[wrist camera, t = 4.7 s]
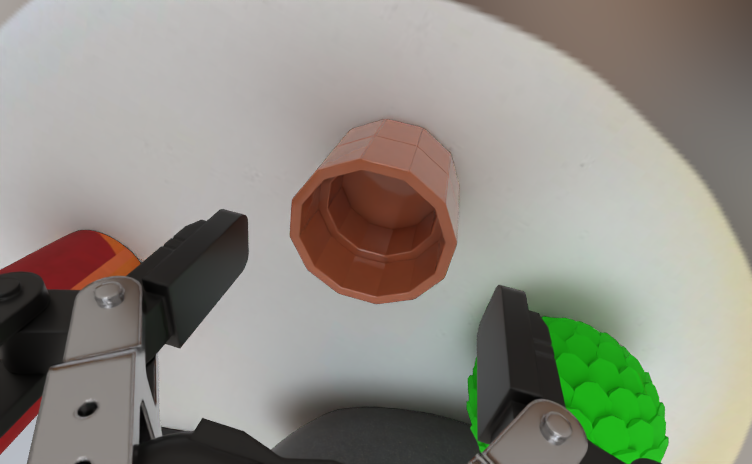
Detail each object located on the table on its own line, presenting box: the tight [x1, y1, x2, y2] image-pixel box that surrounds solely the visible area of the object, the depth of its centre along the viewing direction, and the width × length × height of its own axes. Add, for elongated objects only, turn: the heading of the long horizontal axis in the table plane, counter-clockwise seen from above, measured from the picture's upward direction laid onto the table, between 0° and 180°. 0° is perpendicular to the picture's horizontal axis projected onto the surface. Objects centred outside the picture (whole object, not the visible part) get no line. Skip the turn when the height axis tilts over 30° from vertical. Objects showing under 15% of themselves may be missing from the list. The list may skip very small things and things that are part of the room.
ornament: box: [466, 316, 669, 464], centre depth 17 cm, size 8×8×10 cm
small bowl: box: [290, 119, 460, 304], centre depth 16 cm, size 6×6×5 cm
